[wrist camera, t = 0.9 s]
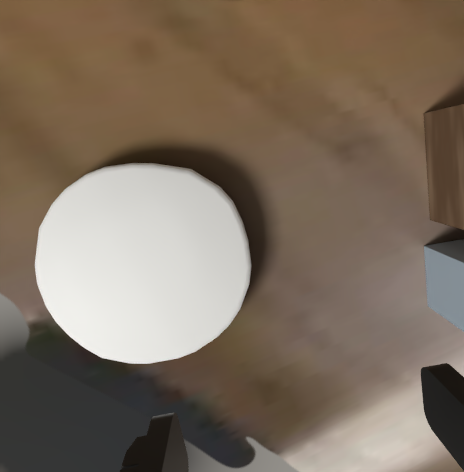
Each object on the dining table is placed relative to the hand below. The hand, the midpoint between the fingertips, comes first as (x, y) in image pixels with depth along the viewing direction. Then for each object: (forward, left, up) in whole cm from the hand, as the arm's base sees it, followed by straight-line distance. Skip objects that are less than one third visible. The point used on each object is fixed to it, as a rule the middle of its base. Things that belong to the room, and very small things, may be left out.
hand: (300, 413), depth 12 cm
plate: (+8, -12, -38) cm, 40 cm away
